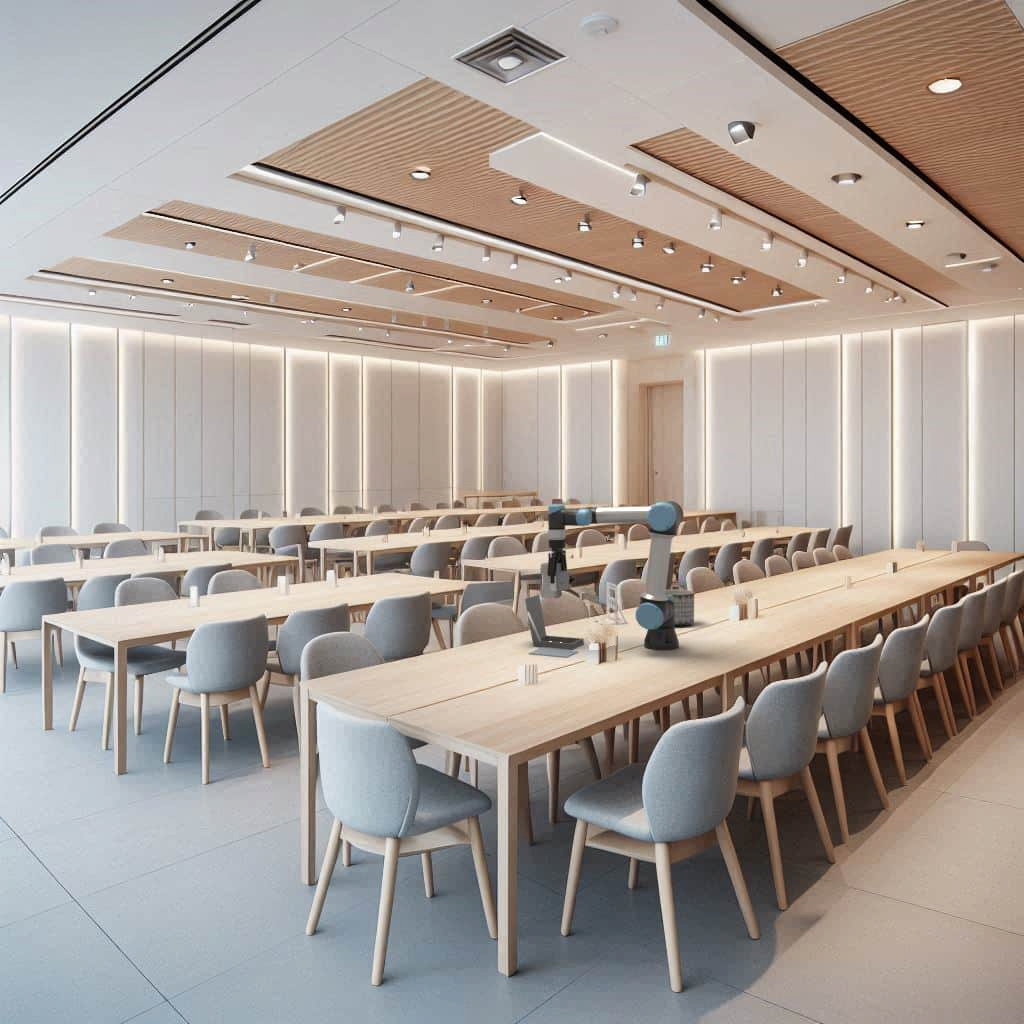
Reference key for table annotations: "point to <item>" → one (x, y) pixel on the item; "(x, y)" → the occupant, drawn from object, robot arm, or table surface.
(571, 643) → the case
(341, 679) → the table surface
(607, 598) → the film strip holder
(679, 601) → the planter
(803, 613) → the table surface
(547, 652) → the mat
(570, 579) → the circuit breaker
